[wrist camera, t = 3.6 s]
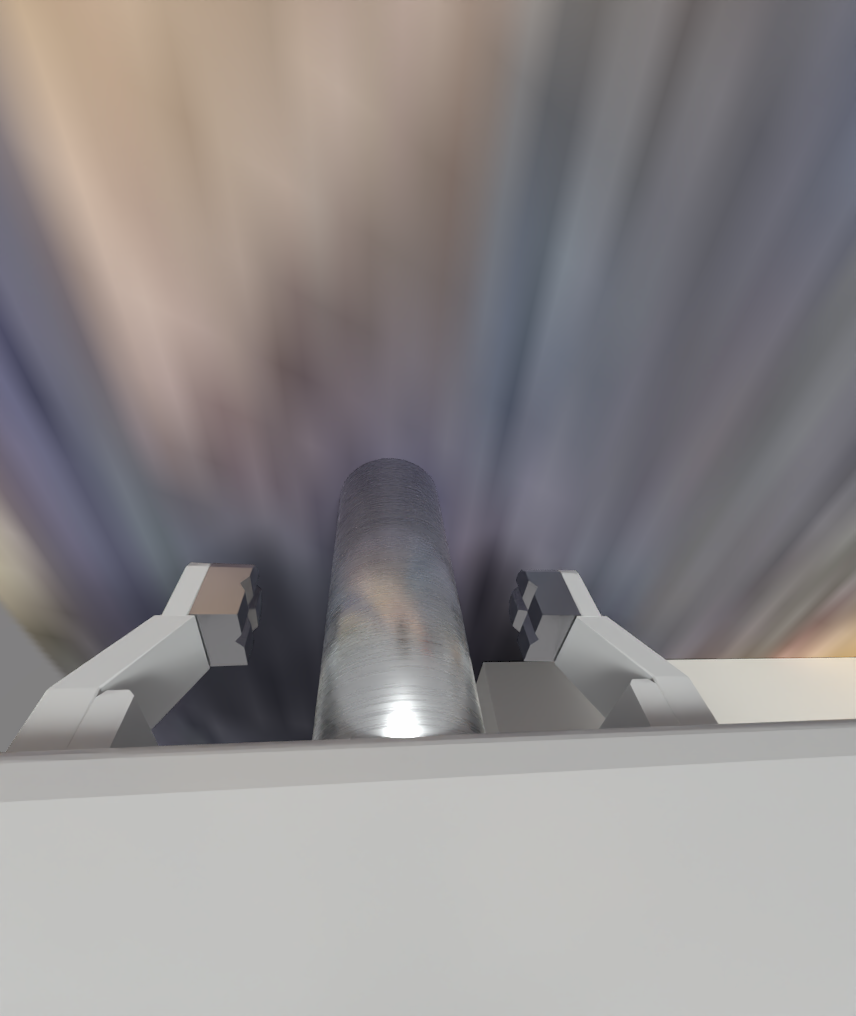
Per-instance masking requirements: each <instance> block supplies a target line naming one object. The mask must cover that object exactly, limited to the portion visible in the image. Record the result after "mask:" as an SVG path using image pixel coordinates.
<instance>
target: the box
mask: <svg viewBox="0 0 856 1016" xmlns="http://www.w3.org/2000/svg"><path fill="white" fill-rule="evenodd" d="M666 661H668V662H669V663H670V664H672V665H673V666H675V667H676V668H677V669H679V670H680V671H681V672H683V673H684V674H685V675H687V676H688V677H689V678H690V680H691V681H692V683H693V685H694V686H695V688H696V689H697V691H698V692H699V694H700V696H701V697H702V699H703V700H704V702H705V703H706V705H707V706H708V708H709V710H710V711H711V713H712V714H713V716H714V717H715V719H716V721H717V722H718V724H732V723H758V722H783V721H808V720H833V719H856V657H843V658H768V659H692V660H666ZM476 688H477V693H478V698H479V703H480V708H481V713H482V718H483V723H484V728H485V732H486V733H504V732H529V731H554V730H579V729H599V728H600V726H601V725H602V723H603V722H604V720H605V719H606V718H605V717H604V716H603V715H602V714H601V713H600V712H599V711H598V710H597V709H596V708H595V707H594V706H593V704H592V703H591V702H590V701H589V700H588V699H587V698H586V697H585V696H584V695H583V694H582V693H581V691H580V690H579V689H578V688H577V687H576V686H575V685H574V684H573V683H572V682H571V681H570V680H569V679H568V677H567V676H566V675H565V674H564V673H563V672H562V671H561V670H560V669H559V668H558V667H557V666H556V665H555V663H554V662H548V661H542V662H483V665H482V668H481V671H480V674H479V677H478V680H477V683H476Z"/></svg>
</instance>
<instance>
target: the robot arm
mask: <svg viewBox="0 0 856 1016" xmlns="http://www.w3.org/2000/svg"><path fill="white" fill-rule="evenodd" d="M258 578H259V573H258V568H257V566H256V565H247V564H223V563H213V564H211V563H190V564H189V565H188V566H186V567H185V569H184V571H183V573H182V575H181V577H180V579H179V581H178V583H177V585H176V587H175V589H174V591H173V593H172V595H171V597H170V599H169V601H168V603H167V605H166V607H165V609H164V611H163V613H162V615H154V616H153V617H151V618H150V619H148V620H147V621H145V622H144V623H143V624H141V625H140V626H138V627H137V628H135V629H134V630H132V631H131V632H130V633H128V634H127V635H125V636H124V637H122V638H121V639H119V640H118V641H117V642H115V643H114V644H112V645H111V646H109V647H108V648H106V649H105V650H103V651H102V652H101V653H99V654H98V655H96V656H95V657H93V658H92V659H90V660H89V661H88V662H86V663H85V664H83V665H82V666H80V667H79V668H77V669H76V670H75V671H73V672H72V673H70V674H69V675H67V676H66V677H64V678H63V679H61V680H60V681H59V682H57V683H56V684H54V685H53V686H51V687H50V688H49V689H47V690H46V692H45V694H44V695H43V697H42V698H41V700H40V701H39V703H38V704H37V706H36V707H35V709H34V710H33V712H32V713H31V715H30V716H29V718H28V719H27V721H26V722H25V724H24V725H23V727H22V728H21V730H20V732H19V733H18V734H17V736H16V737H15V739H14V740H13V742H12V743H11V745H10V747H9V748H8V750H7V751H6V752H0V1016H856V719H833V720H808V721H783V722H758V723H732V724H718V722H717V721H716V719H715V717H714V716H713V714H712V713H711V711H710V710H709V708H708V706H707V705H706V703H705V702H704V700H703V699H702V697H701V696H700V694H699V692H698V691H697V689H696V688H695V686H694V685H693V683H692V681H691V680H690V678H689V677H688V676H687V675H685V674H684V673H683V672H681V671H680V670H679V669H677V668H676V667H675V666H673V665H672V664H670V663H669V662H668V661H666V660H665V659H664V658H662V657H661V656H660V655H658V654H657V653H656V652H654V651H653V650H652V649H650V648H649V647H647V646H646V645H645V644H643V643H642V642H641V641H639V640H638V639H637V638H635V637H634V636H633V635H631V634H630V633H629V632H627V631H626V630H624V629H623V628H622V627H620V626H619V625H618V624H616V623H615V622H614V621H612V620H611V619H610V618H608V617H607V616H601V614H600V613H599V611H598V609H597V607H596V605H595V603H594V601H593V600H592V598H591V596H590V594H589V592H588V590H587V588H586V587H585V585H584V583H583V581H582V579H581V577H580V575H579V574H578V572H576V571H575V570H521V571H520V572H519V573H518V576H517V579H516V582H517V584H518V587H517V588H516V589H515V590H514V591H512V594H511V597H510V601H509V613H510V619H511V622H512V626H513V627H514V628H515V629H517V630H518V631H519V632H520V633H519V635H518V638H517V642H518V645H519V648H520V651H521V654H522V657H523V660H524V661H548V662H554V663H555V665H556V666H557V667H558V668H559V669H560V670H561V671H562V672H563V673H564V674H565V675H566V676H567V677H568V679H569V680H570V681H571V682H572V683H573V684H574V685H575V686H576V687H577V688H578V689H579V690H580V691H581V693H582V694H583V695H584V696H585V697H586V698H587V699H588V700H589V701H590V702H591V703H592V704H593V706H594V707H595V708H596V709H597V710H598V711H599V712H600V713H601V714H602V715H603V716H604V717H605V718H606V719H605V720H604V722H603V723H602V725H601V726H600V728H599V729H579V730H554V731H529V732H504V733H479V734H454V735H435V736H426V737H412V738H383V737H380V738H353V739H328V740H302V741H277V742H251V743H226V744H200V745H174V746H158V744H157V742H156V740H155V738H154V735H153V733H152V731H151V729H152V728H153V727H154V726H155V725H156V724H157V723H158V722H159V721H160V720H161V719H162V718H163V717H164V716H165V715H166V714H167V713H168V712H169V711H170V710H171V709H172V707H173V706H174V705H175V704H176V703H177V702H178V701H179V700H180V699H181V698H182V697H183V696H184V695H185V694H186V693H187V692H188V691H189V690H190V689H191V688H192V687H193V686H194V685H195V684H196V682H197V681H198V680H199V679H200V678H201V677H202V676H203V675H204V674H205V673H206V672H207V671H208V670H209V669H210V667H209V666H233V665H248V662H249V658H250V654H251V651H252V647H253V643H254V638H253V632H252V631H253V630H254V629H255V628H257V627H258V625H259V621H260V617H261V609H262V593H261V588H259V587H258V586H257V581H258Z"/></svg>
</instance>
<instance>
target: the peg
mask: <svg viewBox="0 0 856 1016" xmlns="http://www.w3.org/2000/svg"><path fill="white" fill-rule="evenodd" d="M479 733H486V732H485V728H484V723H483V718H482V713H481V708H480V703H479V698H478V693H477V688H476V683H475V678H474V673H473V668H472V663H471V658H470V653H469V648H468V643H467V638H466V633H465V628H464V623H463V618H462V613H461V608H460V603H459V598H458V593H457V588H456V584H455V579H454V574H453V569H452V564H451V559H450V554H449V549H448V544H447V539H446V534H445V529H444V524H443V519H442V514H441V509H440V504H439V499H438V494H437V490H436V486H435V484H434V482H433V480H432V479H431V477H430V476H429V475H428V474H427V473H426V472H425V471H424V470H423V469H422V468H420V467H419V466H417V465H415V464H413V463H411V462H408V461H404V460H400V459H379V460H375V461H371V462H369V463H366V464H364V465H362V466H360V467H359V468H357V469H356V470H355V471H354V472H353V473H351V474H350V476H349V477H348V478H347V480H346V481H345V483H344V485H343V487H342V491H341V496H340V504H339V513H338V522H337V530H336V539H335V548H334V556H333V565H332V574H331V582H330V591H329V600H328V608H327V617H326V626H325V634H324V643H323V652H322V660H321V669H320V678H319V686H318V695H317V704H316V712H315V721H314V730H313V738H312V740H328V739H353V738H380V737H383V738H412V737H426V736H435V735H454V734H479Z"/></svg>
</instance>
